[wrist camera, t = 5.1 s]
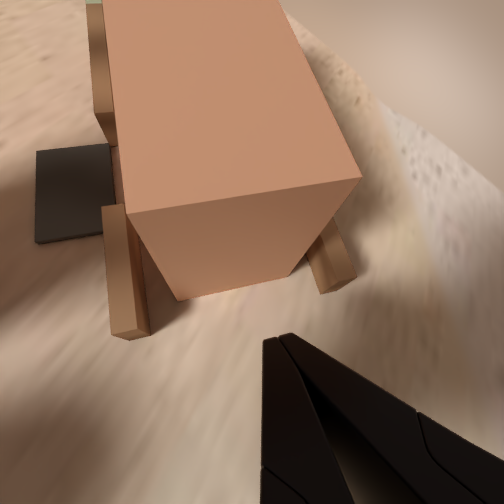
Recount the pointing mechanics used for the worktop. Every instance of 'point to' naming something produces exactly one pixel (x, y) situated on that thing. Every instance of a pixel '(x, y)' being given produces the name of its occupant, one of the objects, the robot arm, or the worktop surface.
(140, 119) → the brick
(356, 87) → the worktop surface
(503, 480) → the robot arm
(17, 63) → the worktop surface
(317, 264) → the lane
